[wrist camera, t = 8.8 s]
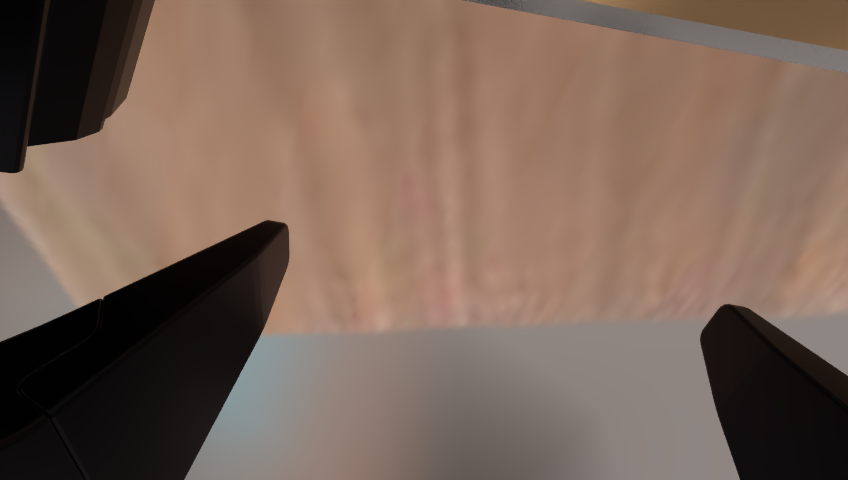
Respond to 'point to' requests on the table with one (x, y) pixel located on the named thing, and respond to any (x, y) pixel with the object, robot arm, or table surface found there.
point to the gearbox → (719, 24)
